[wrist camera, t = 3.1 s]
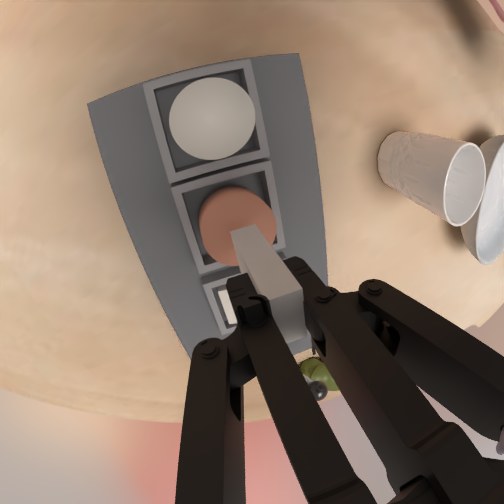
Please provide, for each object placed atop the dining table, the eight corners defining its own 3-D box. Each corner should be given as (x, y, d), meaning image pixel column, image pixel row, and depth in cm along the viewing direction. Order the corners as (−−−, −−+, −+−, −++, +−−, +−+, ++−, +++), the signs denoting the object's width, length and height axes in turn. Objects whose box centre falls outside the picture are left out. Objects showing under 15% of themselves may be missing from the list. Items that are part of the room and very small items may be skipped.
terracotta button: (258, 177, 19) (269, 186, 17) (270, 238, 22) (281, 253, 20) (190, 197, 19) (192, 208, 17) (208, 257, 21) (213, 274, 19)
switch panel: (284, 59, 19) (308, 49, 15) (319, 325, 35) (334, 349, 31) (97, 105, 17) (80, 103, 13) (201, 365, 33) (207, 393, 29)
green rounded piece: (354, 394, 38) (295, 399, 36) (344, 370, 42) (289, 372, 41) (369, 372, 35) (307, 376, 34) (357, 348, 40) (299, 349, 38)
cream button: (236, 76, 16) (246, 70, 13) (251, 144, 18) (262, 148, 16) (162, 94, 15) (160, 90, 13) (180, 163, 18) (181, 170, 15)
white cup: (368, 192, 28) (435, 229, 19) (375, 121, 24) (451, 135, 15) (415, 192, 29) (476, 224, 21) (422, 131, 26) (490, 149, 17)
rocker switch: (277, 273, 24) (279, 280, 23) (283, 307, 26) (284, 314, 25) (218, 285, 24) (217, 292, 23) (229, 317, 26) (229, 325, 25)
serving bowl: (489, 234, 40) (513, 250, 34) (431, 257, 36) (461, 280, 30) (503, 133, 30) (532, 143, 24) (448, 119, 26) (489, 129, 20)
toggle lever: (268, 340, 28) (332, 382, 22) (272, 353, 29) (331, 394, 23) (254, 351, 27) (317, 397, 21) (258, 364, 28) (317, 408, 22)
